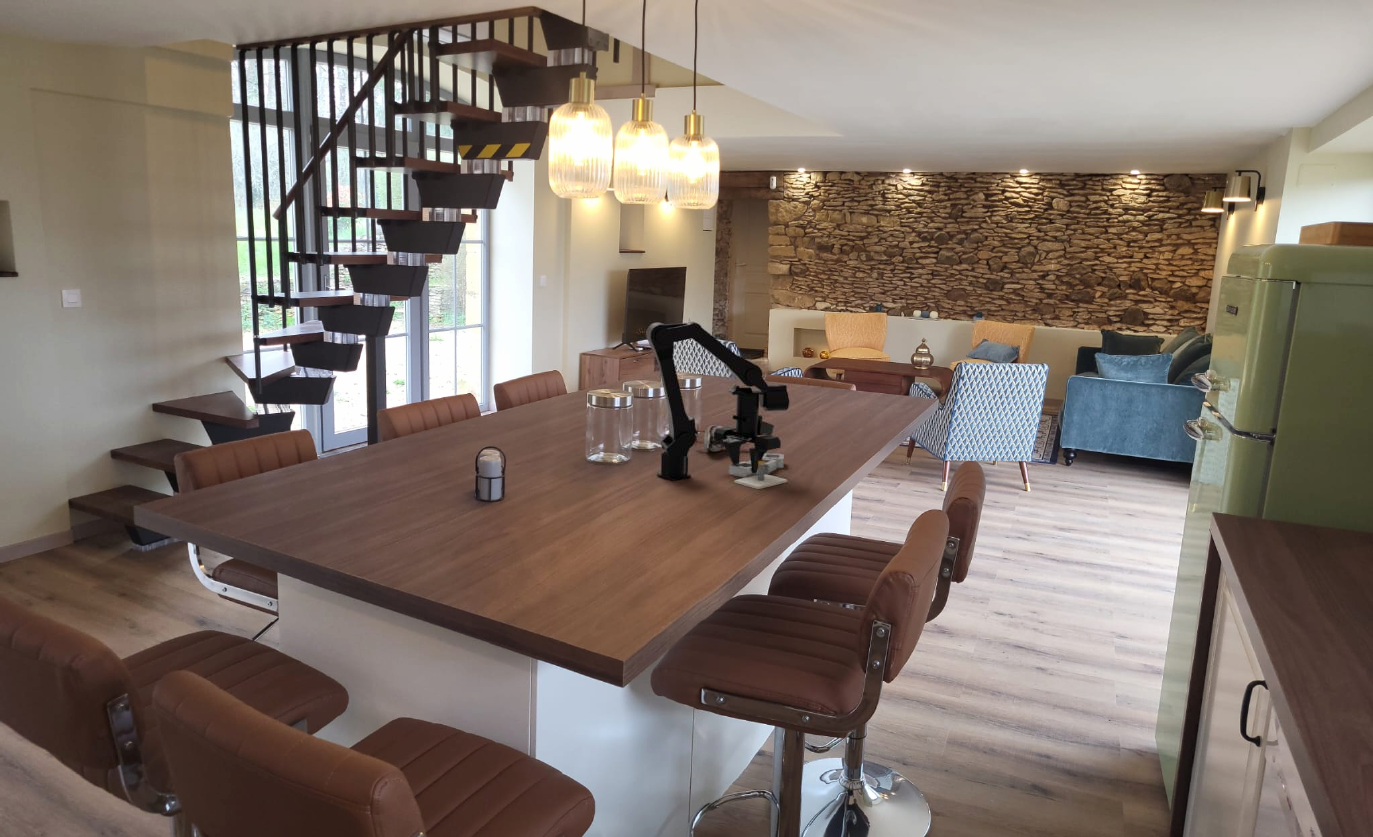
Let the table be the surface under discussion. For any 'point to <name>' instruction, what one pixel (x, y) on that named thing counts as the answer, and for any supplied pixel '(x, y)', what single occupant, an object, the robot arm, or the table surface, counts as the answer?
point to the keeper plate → (761, 483)
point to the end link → (742, 469)
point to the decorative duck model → (711, 439)
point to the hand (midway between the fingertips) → (745, 470)
